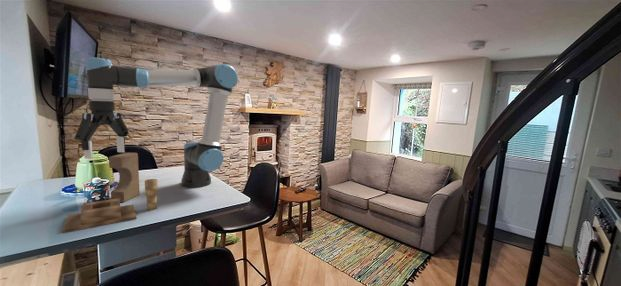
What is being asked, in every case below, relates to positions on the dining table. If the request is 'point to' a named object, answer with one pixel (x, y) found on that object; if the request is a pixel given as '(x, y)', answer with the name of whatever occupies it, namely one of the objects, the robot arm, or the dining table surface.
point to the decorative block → (125, 176)
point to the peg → (151, 193)
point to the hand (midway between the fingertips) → (105, 155)
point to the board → (77, 219)
